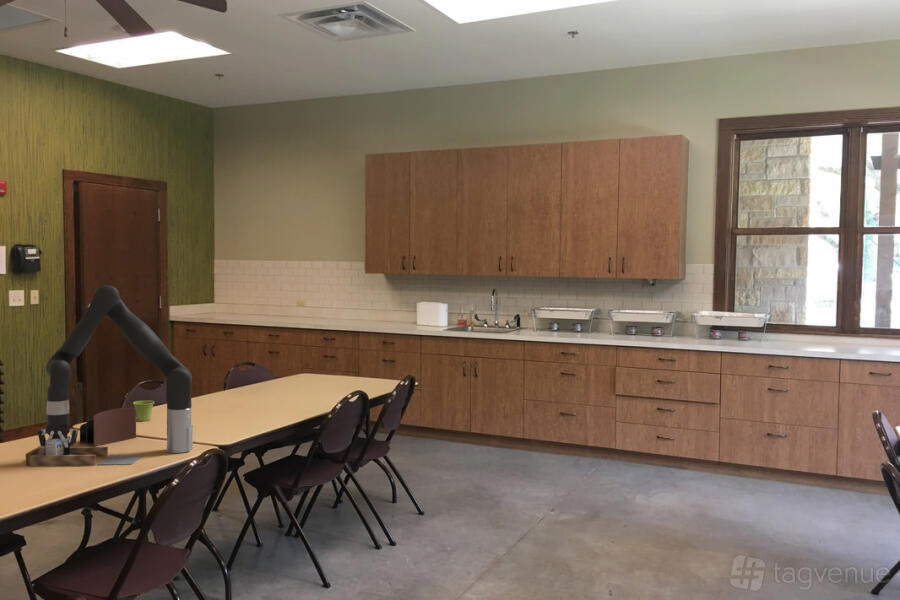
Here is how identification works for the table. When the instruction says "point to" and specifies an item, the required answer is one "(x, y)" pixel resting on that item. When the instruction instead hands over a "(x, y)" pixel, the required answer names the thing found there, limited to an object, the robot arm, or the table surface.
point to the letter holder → (109, 427)
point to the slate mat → (120, 460)
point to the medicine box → (55, 447)
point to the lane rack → (66, 456)
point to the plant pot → (143, 410)
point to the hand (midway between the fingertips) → (58, 456)
